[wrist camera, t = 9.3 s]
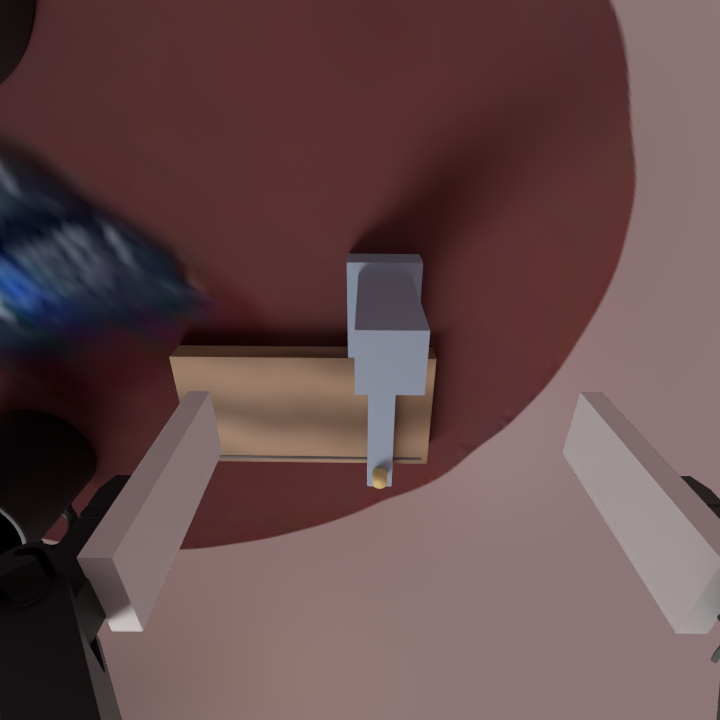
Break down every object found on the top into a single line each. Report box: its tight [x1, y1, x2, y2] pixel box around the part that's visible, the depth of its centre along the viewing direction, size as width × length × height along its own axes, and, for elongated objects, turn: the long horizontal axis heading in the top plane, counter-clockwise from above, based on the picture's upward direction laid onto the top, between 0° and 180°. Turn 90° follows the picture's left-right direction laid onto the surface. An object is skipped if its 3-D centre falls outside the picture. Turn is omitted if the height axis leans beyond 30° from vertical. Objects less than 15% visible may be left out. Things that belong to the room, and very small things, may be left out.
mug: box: [0, 411, 95, 555], centre depth 35 cm, size 9×12×9 cm
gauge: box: [347, 254, 430, 489], centre depth 29 cm, size 18×5×12 cm, turn 0°
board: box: [169, 345, 436, 463], centre depth 35 cm, size 10×20×2 cm, turn 90°
